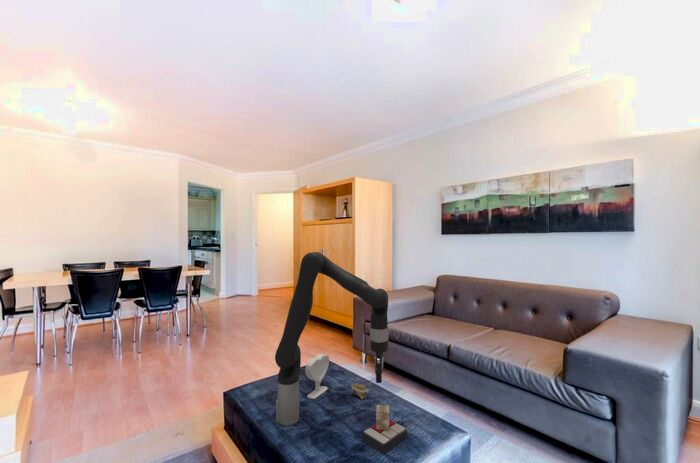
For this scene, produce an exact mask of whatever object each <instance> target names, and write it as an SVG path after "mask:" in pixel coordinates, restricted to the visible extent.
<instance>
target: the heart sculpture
mask: <svg viewBox="0 0 700 463" xmlns="http://www.w3.org/2000/svg"><path fill="white" fill-rule="evenodd" d="M329 364H330V356H329V355H328V354H325V353H319V354H317V355H316V356H315V357H311V358H310V359H309V360H308V361H307V362H306V364H305V368H304V369H305V376H306V377H307V378H308V379H309V380H311V381H314V382H315V383H314V384H315V385H314V386H315V389H314V390H313V391H311V392H310V393H309V394H307V395H306V396H307V398H309V399H316V398H317V397H319V396H320V395H322V394H323V393H324V392H326V391H327V390H328V389H329V387H327V386H326V385H325V386H323V385H321V383H322V381H323V379H324V377H325V376H326V374H327V371H328V369H329Z"/></svg>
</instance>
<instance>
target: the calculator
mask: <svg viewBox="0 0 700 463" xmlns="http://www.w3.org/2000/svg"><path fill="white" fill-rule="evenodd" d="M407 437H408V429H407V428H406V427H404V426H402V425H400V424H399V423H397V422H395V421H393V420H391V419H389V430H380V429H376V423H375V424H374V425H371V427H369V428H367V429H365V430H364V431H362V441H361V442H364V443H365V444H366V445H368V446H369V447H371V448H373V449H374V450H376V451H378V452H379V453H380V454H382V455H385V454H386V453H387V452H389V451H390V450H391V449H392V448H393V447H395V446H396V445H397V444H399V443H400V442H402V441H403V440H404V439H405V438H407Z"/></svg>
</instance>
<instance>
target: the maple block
mask: <svg viewBox="0 0 700 463" xmlns="http://www.w3.org/2000/svg"><path fill="white" fill-rule="evenodd" d="M375 410H376V411H375V412H376V413H375V414H376V417H375V418H376V419H375V420H376V421H375V422H376V423H375V424H376V429H380V430H389V420H390V405H387V404H386V405H384V404H377V405H376V409H375Z"/></svg>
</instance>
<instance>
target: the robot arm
mask: <svg viewBox="0 0 700 463" xmlns="http://www.w3.org/2000/svg"><path fill="white" fill-rule="evenodd" d="M318 274H321V275H324V276H326V277H328V278H330V279H332V280H333V281H335V282H336V284H337V285H339V286H340V287H342V288H343V289H344V290H346V291H348V292H350V293H351V294H353V295H354V296H357V297H358V298H360V299H361V301H362V300H363V302H365V303H366V304H367V305H369V306H370V307H371V315H370V331H369V350H370V351H371V352H373V353H374V355H373V360H374V368H375V369H374V374H375V382H376V383H377V384H381V383H382V376H383V375H382V374H383V368H384V361H385V353H386V352H387V351H388V350H389V329H388V321H389V320H388V319H389V318H388V310H389V309H388V308H389V294H388V292H387V291H386V290H385V289H383V288H374V287H373V286H371V285H369V282H367V281H366V280H364V279H362V278H361V277H358V276H357V275H354V274H353V273H351V272H349V271H347V270H345V269H344V268H342V267H341V266H339V265H337V264H336V263H334V262H333V261H331V260H330V259H329V258H328V257H327V256H326V255H324V254H323V253H321V252H319V251H312V252H308V253H306V254H304V256H302V259H301V261H300V267H299V272H298V278H297V283H296V286H295V289H294V293H293V296H292V299H291V303H290V306H289V308H288V314H287V316H286V321H285V326H284V328H283V334H282V336H281V339H280V341H279V344H278V345H277V346H278V347H277V349H276V351H275V355H274V360H275V364H276V365H277V367H278V368H279V371H278V373H277V398H276V400H275V423H278V424H279V425H281V426H291V425H294V424H296V423H297V422H299V421H300V373H301V363H302V360H301V358H302V357H301V356H302V352H301V348H300V346H299V340H300V338H301V336H302V334H303V331H305V328H306V326H307V323H308V322H309V318H310V315H311V312H312V309H313V304H314V287H315V283H316V280H317V277H318Z"/></svg>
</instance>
